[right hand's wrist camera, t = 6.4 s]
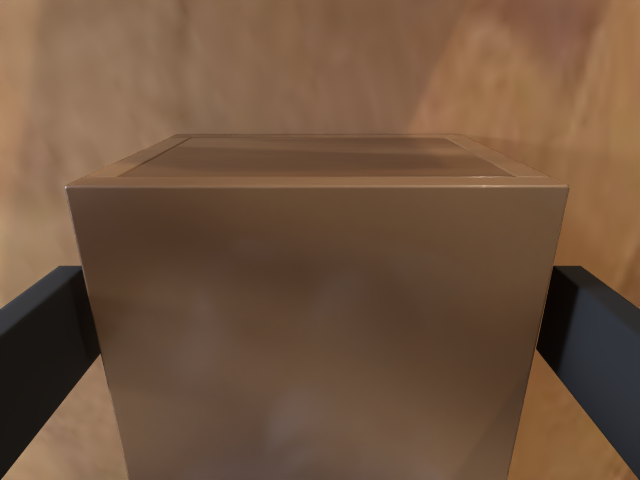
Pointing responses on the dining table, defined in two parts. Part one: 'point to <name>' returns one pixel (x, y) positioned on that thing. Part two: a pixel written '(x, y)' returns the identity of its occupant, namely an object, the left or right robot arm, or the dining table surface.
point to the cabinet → (317, 303)
